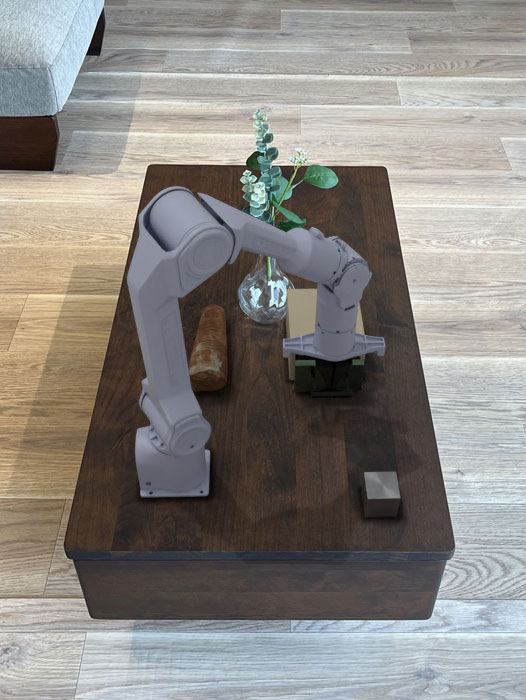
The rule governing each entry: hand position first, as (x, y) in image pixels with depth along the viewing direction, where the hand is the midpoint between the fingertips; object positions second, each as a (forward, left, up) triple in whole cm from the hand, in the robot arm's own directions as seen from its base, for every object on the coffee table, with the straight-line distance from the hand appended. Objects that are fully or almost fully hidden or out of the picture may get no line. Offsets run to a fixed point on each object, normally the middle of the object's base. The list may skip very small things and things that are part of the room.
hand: (330, 386), depth 120 cm
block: (+5, -18, -4) cm, 19 cm away
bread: (-19, +11, -5) cm, 23 cm away
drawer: (0, +6, -4) cm, 7 cm away
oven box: (0, +12, -4) cm, 13 cm away
